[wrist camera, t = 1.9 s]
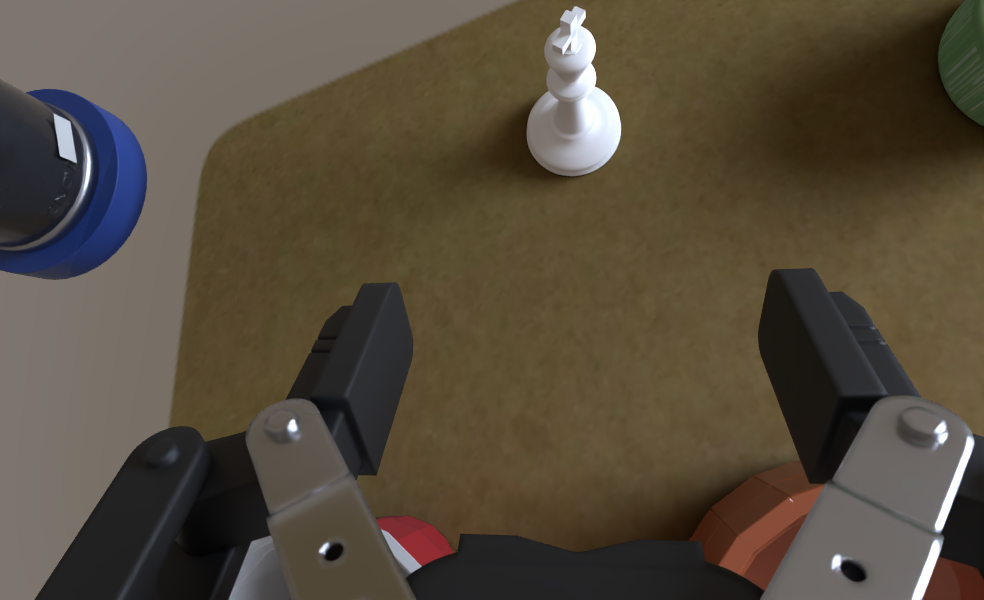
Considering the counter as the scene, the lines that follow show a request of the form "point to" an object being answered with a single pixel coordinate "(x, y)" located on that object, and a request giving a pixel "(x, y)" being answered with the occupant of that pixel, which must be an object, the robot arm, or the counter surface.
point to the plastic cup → (412, 541)
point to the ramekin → (964, 59)
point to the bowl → (793, 533)
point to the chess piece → (572, 105)
